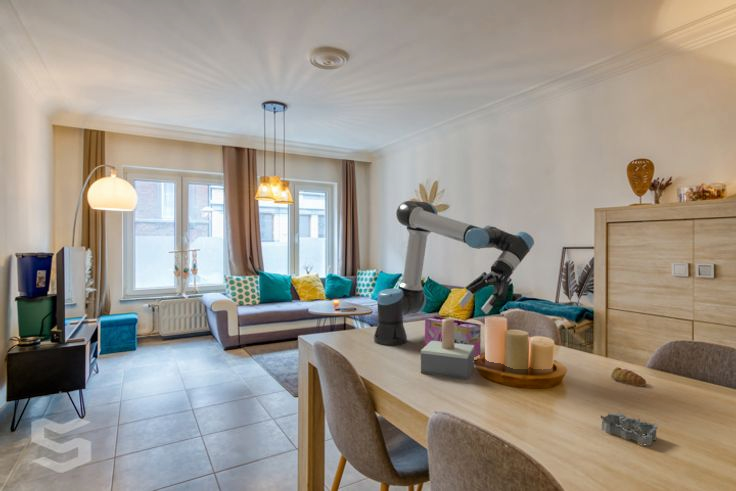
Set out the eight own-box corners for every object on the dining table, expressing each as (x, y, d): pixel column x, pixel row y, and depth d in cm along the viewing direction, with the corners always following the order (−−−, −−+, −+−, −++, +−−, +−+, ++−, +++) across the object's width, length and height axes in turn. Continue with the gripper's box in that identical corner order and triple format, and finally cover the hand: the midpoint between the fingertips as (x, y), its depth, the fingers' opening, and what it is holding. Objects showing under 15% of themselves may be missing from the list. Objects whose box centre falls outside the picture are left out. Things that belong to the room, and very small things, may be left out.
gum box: (421, 349, 165) (421, 317, 165) (433, 346, 171) (433, 315, 170) (469, 363, 147) (469, 327, 147) (481, 359, 152) (481, 324, 152)
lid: (431, 343, 149) (431, 314, 149) (474, 347, 143) (474, 318, 142) (420, 353, 136) (420, 321, 136) (467, 358, 130) (467, 325, 130)
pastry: (650, 385, 125) (650, 373, 125) (638, 389, 122) (638, 377, 122) (620, 376, 133) (620, 365, 133) (608, 379, 130) (608, 368, 130)
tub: (431, 361, 149) (431, 343, 149) (474, 367, 143) (474, 347, 143) (420, 373, 137) (420, 353, 136) (467, 379, 130) (467, 358, 130)
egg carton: (597, 431, 96) (597, 415, 96) (611, 423, 100) (610, 407, 100) (648, 450, 87) (648, 431, 87) (660, 439, 92) (660, 422, 92)
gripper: (535, 275, 137) (501, 321, 132) (488, 270, 161) (458, 309, 155) (523, 260, 135) (488, 307, 130) (478, 257, 158) (446, 296, 153)
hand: (471, 308), depth 143 cm, fingers open, 13 cm apart
